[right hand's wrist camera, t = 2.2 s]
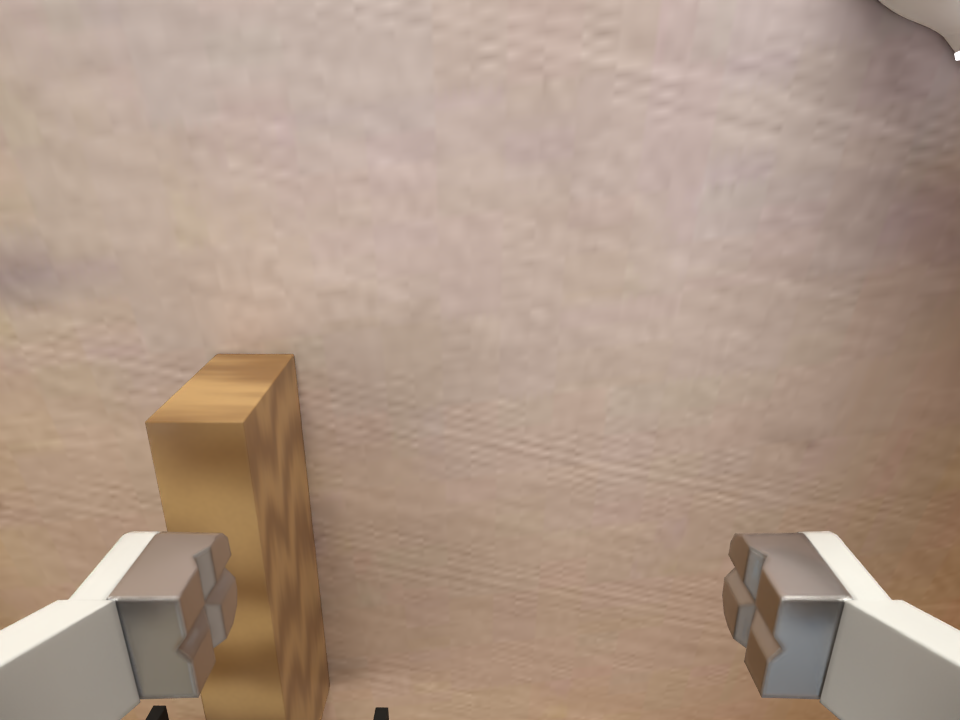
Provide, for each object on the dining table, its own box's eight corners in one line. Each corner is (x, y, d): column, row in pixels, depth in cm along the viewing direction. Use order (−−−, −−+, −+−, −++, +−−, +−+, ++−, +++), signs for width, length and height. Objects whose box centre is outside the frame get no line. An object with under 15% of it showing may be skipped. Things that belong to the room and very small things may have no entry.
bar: (216, 353, 38) (144, 421, 30) (294, 353, 38) (243, 421, 30) (267, 686, 47) (223, 807, 39) (330, 686, 47) (299, 807, 39)
